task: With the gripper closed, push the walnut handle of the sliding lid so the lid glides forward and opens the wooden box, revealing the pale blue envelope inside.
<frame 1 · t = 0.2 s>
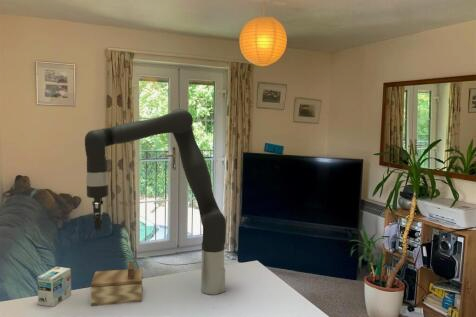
hand: (98, 226, 139), 28 cm above the table, tool pointing down, fingers open, 8 cm apart
lid: (117, 272, 143), point 10 cm above the table, slide at 0.0 cm
wooden box: (118, 296, 144), on the table
light bulb box: (55, 300, 141), on the table
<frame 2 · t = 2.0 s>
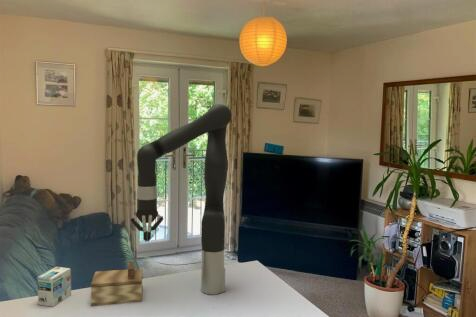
hand: (147, 240, 145), 22 cm above the table, tool pointing down, fingers closed
nothing on the table moved.
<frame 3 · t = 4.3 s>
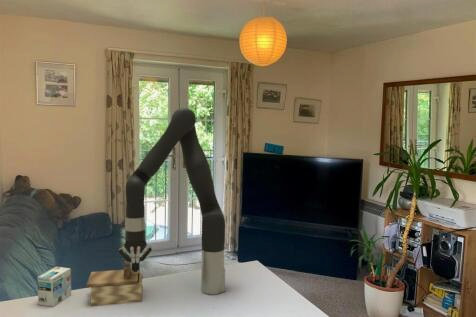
hand: (135, 271, 145), 10 cm above the table, tool pointing down, fingers closed
lid: (113, 272, 143), point 10 cm above the table, slide at 1.5 cm, touching gripper
everything else where it was.
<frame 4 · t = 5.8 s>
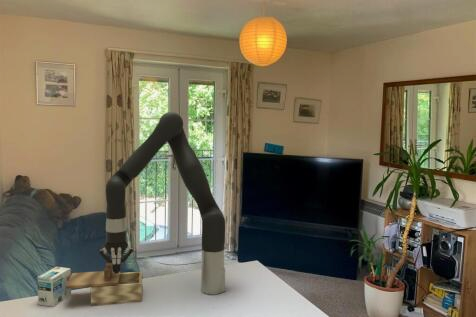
hand: (116, 272, 143), 10 cm above the table, tool pointing down, fingers closed
lid: (94, 273, 141), point 10 cm above the table, slide at 8.5 cm, touching gripper
everything else where it was.
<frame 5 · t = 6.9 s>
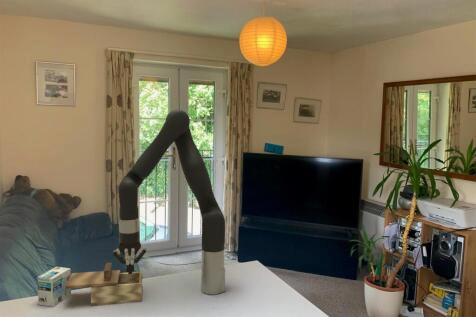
hand: (130, 273, 144), 9 cm above the table, tool pointing down, fingers closed
lid: (94, 273, 141), point 10 cm above the table, slide at 8.7 cm
everything else where it was.
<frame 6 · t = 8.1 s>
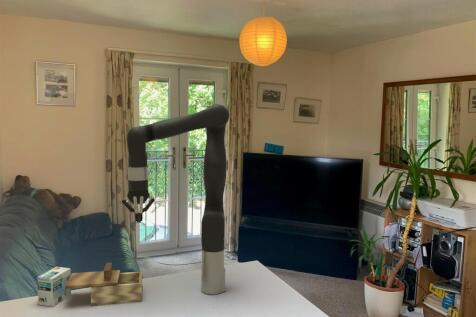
hand: (138, 222, 145), 29 cm above the table, tool pointing down, fingers closed
nothing on the table moved.
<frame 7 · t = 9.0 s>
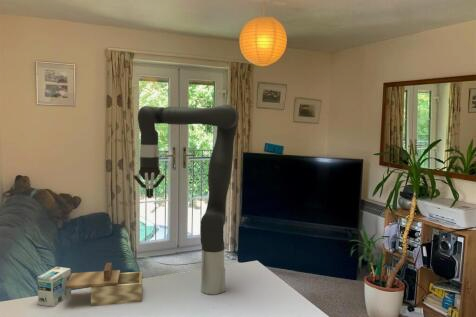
hand: (149, 197, 152), 37 cm above the table, tool pointing down, fingers closed
nothing on the table moved.
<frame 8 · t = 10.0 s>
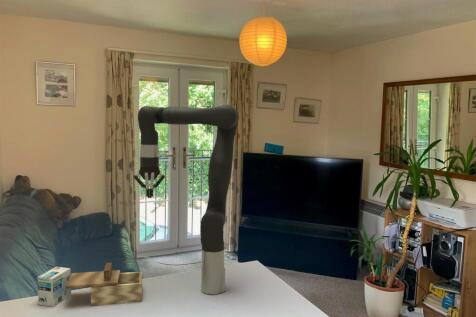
hand: (149, 197, 152), 37 cm above the table, tool pointing down, fingers closed
nothing on the table moved.
at the end: lid slide at 8.7 cm; lid touching nothing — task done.
